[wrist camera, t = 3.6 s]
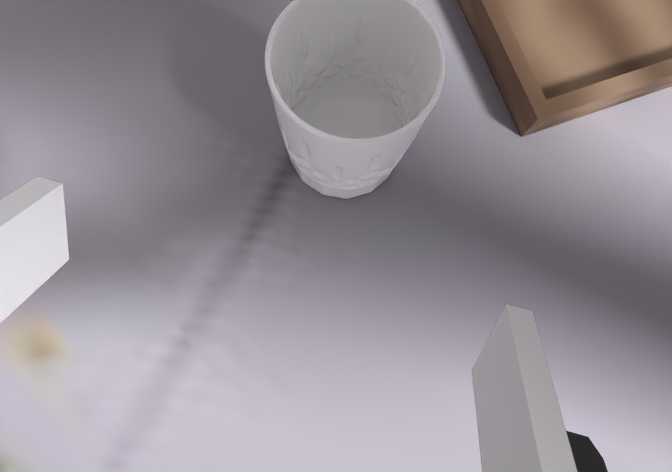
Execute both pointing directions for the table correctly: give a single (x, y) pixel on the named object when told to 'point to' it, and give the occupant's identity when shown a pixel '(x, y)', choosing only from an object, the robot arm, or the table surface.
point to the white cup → (352, 87)
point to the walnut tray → (572, 54)
